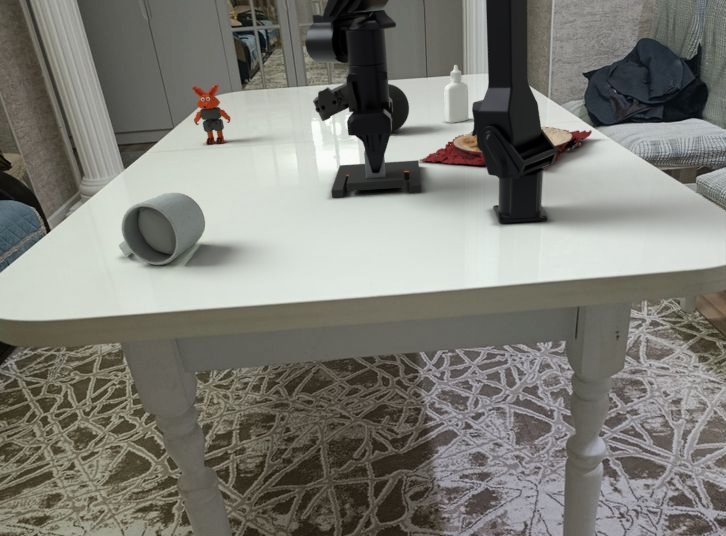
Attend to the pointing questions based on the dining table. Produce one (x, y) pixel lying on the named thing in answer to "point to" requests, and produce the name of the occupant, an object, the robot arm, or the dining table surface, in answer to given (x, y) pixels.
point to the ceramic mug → (162, 228)
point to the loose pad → (375, 178)
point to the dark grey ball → (398, 107)
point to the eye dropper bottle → (456, 98)
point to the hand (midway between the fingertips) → (376, 170)
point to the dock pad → (409, 168)
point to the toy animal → (210, 114)
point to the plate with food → (469, 153)
